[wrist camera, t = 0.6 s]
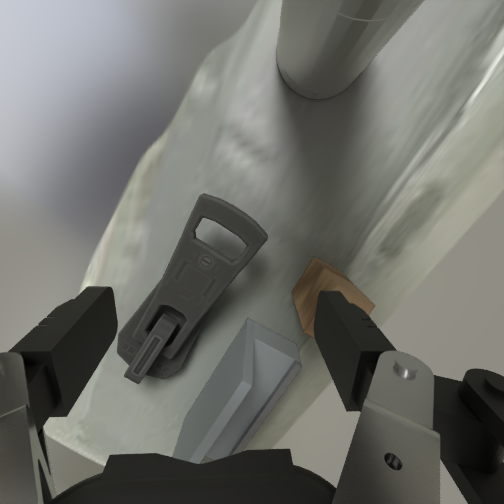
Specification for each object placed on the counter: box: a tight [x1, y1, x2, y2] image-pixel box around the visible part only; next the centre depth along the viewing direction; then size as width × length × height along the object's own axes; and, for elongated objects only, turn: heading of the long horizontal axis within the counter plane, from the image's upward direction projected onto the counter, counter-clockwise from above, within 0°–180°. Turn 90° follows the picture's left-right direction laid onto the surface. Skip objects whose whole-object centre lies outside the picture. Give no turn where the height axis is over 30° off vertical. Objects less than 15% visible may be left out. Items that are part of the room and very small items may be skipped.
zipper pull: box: [117, 193, 268, 384], centre depth 32 cm, size 9×7×25 cm
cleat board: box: [172, 318, 302, 464], centre depth 32 cm, size 18×7×12 cm, turn 150°
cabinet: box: [291, 257, 375, 338], centre depth 29 cm, size 5×5×10 cm
